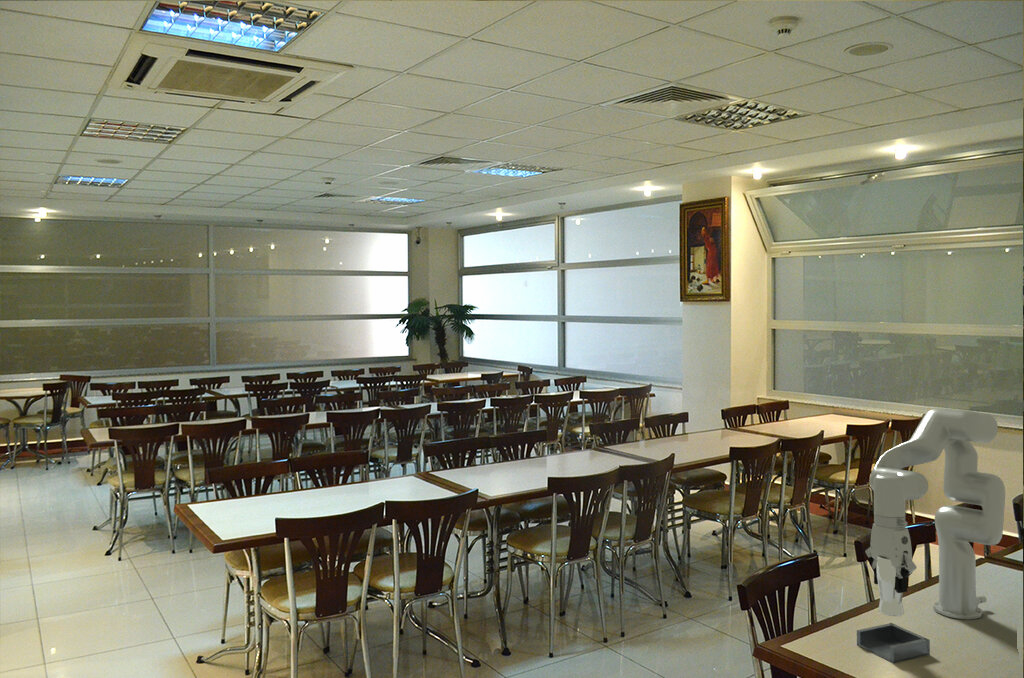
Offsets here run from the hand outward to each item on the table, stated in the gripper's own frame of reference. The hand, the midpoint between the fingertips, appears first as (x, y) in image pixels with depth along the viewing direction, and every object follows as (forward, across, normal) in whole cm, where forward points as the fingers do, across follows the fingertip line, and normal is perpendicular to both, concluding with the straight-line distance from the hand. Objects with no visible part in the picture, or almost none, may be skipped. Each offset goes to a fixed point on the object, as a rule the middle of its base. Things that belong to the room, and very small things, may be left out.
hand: (890, 587), depth 209 cm
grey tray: (+17, 0, -1) cm, 17 cm away
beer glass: (+7, 0, 0) cm, 7 cm away
